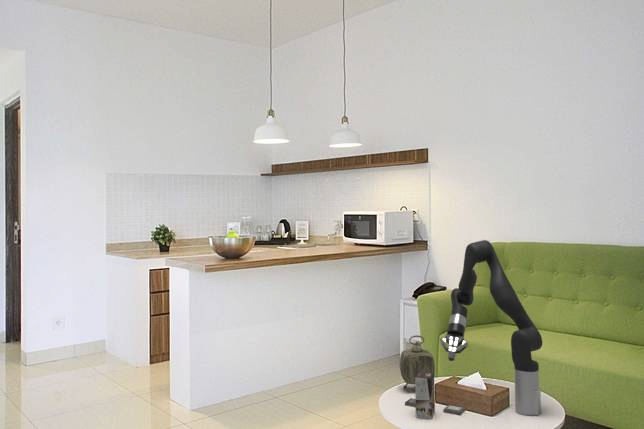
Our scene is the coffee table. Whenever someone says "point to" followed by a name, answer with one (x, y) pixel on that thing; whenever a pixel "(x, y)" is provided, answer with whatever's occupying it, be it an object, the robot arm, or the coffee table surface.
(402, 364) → the ring-handled stone jug
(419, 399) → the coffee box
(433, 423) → the coffee table surface
